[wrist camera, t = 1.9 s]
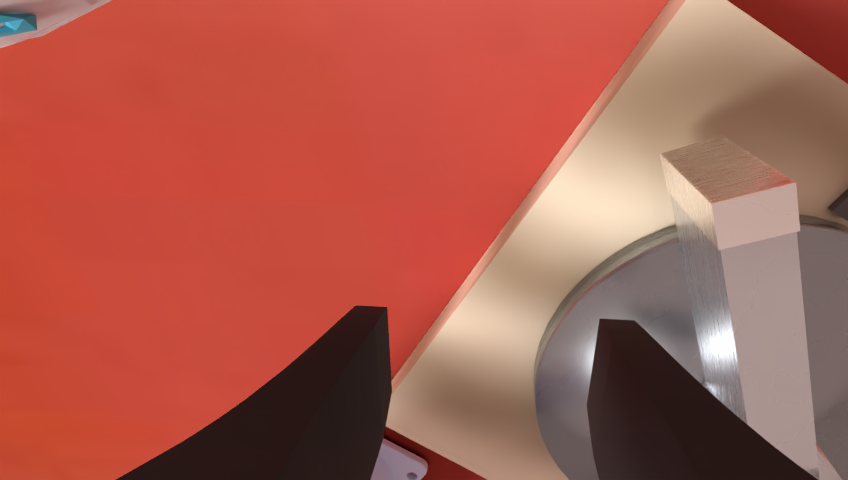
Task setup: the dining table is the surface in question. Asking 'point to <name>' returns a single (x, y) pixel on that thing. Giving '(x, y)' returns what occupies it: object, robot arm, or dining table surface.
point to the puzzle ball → (39, 17)
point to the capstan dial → (719, 312)
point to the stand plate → (613, 218)
